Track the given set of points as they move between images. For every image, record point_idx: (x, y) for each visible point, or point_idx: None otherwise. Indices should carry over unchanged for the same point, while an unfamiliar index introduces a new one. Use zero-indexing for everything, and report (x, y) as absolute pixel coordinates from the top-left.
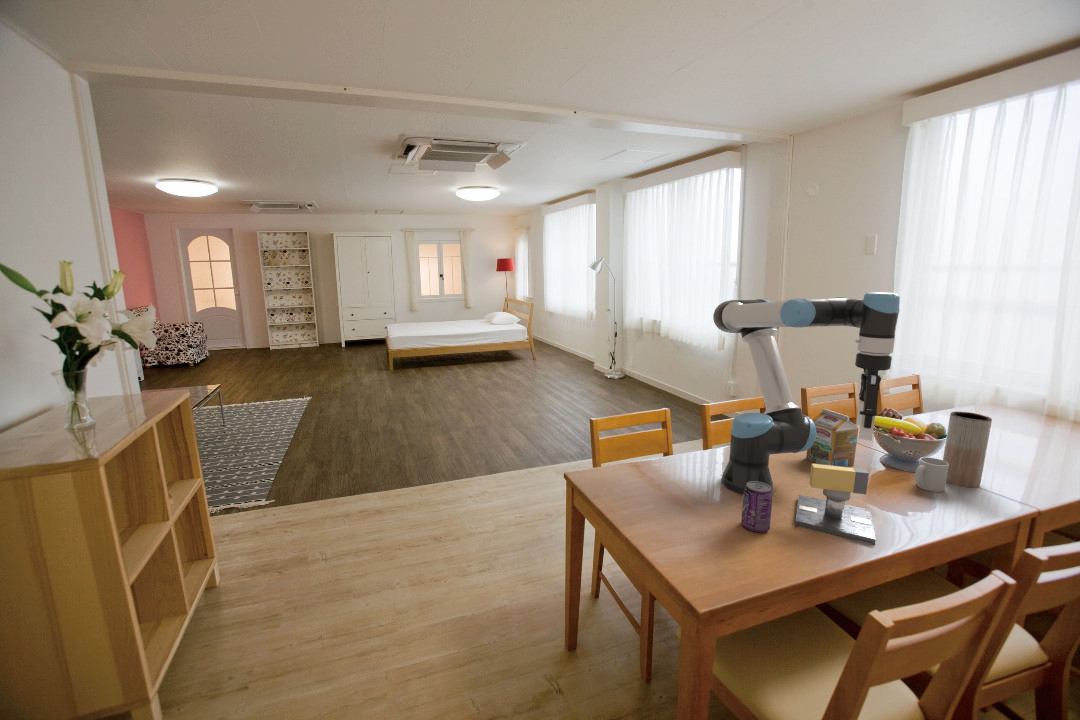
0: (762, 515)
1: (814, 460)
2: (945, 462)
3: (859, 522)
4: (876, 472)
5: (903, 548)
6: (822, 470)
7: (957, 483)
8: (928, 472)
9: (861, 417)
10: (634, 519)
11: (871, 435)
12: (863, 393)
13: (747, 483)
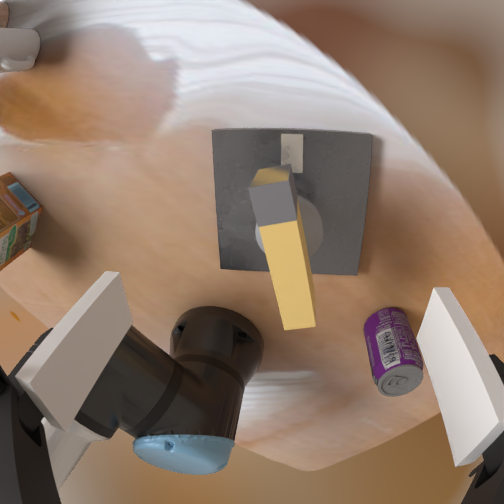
0: (414, 337)
1: (32, 236)
2: None
3: (302, 156)
4: (12, 134)
5: (354, 81)
6: (312, 302)
7: (5, 23)
8: (12, 51)
9: (452, 442)
10: (403, 421)
11: (459, 311)
12: (52, 497)
13: (393, 395)
